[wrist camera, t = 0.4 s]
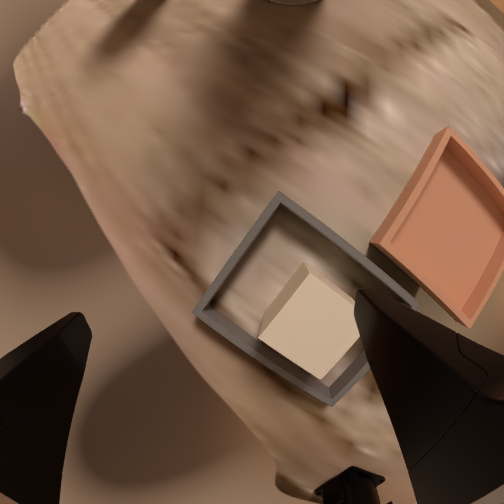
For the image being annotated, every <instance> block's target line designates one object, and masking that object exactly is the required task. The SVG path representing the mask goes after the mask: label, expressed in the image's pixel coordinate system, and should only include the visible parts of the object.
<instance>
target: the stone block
mask: <svg viewBox="0 0 504 504" xmlns="http://www.w3.org/2000/svg"><path fill="white" fill-rule="evenodd" d="M354 305H355V301H354V300H353V299H352V298H351V297H350V296H348V295H347V294H346V293H345V292H343V291H342V290H341V289H339V288H338V287H337V286H335V285H334V284H333V283H331V282H330V281H329V280H328V279H326V278H325V277H324V276H322V275H321V274H320V273H318V272H317V271H316V270H314V269H313V268H312V267H310V266H309V265H308V264H306V263H305V262H304V261H303V263H302V264H301V265H300V267H299V268H298V269H297V271H296V272H295V273H294V275H293V276H292V277H291V279H290V280H289V281H288V283H287V284H286V285H285V286H284V288H283V289H282V290H281V292H280V293H279V294H278V296H277V297H276V298H275V299H274V301H273V302H272V303H271V304H270V306H269V307H268V308H267V310H266V311H265V315H264V318H263V322H262V326H261V329H260V333H259V337H258V338H259V339H260V340H262V341H263V342H265V343H266V344H267V345H269V346H270V347H272V348H273V349H275V350H276V351H278V352H279V353H281V354H282V355H283V356H285V357H286V358H288V359H289V360H291V361H292V362H294V363H295V364H297V365H298V366H300V367H302V368H303V369H305V370H306V371H308V372H309V373H311V374H312V375H314V376H315V377H317V378H319V379H320V380H321V379H322V378H323V377H324V376H325V375H326V374H327V373H328V372H329V370H330V369H331V368H332V367H333V366H334V365H335V364H336V363H337V362H338V361H339V360H340V358H341V357H342V356H343V355H344V354H345V353H346V352H347V351H348V349H349V348H350V347H351V346H352V345H353V344H354V342H355V341H356V340H357V339H358V338H359V337H360V335H359V331H358V328H357V325H356V322H355V318H354Z"/></svg>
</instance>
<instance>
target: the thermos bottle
mask: <svg viewBox="0 0 504 504" xmlns="http://www.w3.org/2000/svg"><path fill="white" fill-rule="evenodd" d="M268 1H271V2H274V3H278V4H284V5H304V4H310V3H313V2H316V1H318V0H268Z"/></svg>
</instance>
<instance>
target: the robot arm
mask: <svg viewBox="0 0 504 504" xmlns="http://www.w3.org/2000/svg"><path fill="white" fill-rule="evenodd" d="M354 318H355V322H356V325H357V328H358V331H359V335H360V338H361V342H362V345H363V349H364V352H365V355H366V358H367V361H368V364H369V366H370V368H371V371H372V373H373V376H374V378H375V381H376V383H377V386H378V388H379V391H380V393H381V396H382V398H383V401H384V404H385V406H386V409H387V412H388V414H389V417H390V420H391V423H392V425H393V428H394V431H395V434H396V437H397V439H398V442H399V445H400V448H401V451H402V454H403V457H404V460H405V463H406V467H407V470H409V471H408V473H409V477H410V480H411V483H412V487H413V490H414V494H415V497H416V501H417V504H504V355H502V354H500V353H497V352H495V351H493V350H491V349H488V348H486V347H484V346H482V345H480V344H477V343H476V342H474V341H472V340H470V339H468V338H466V337H464V336H462V335H461V334H459V333H456V332H455V331H453V330H451V329H449V328H447V327H446V326H444V325H442V324H440V323H438V322H436V321H434V320H432V319H430V318H429V317H427V316H425V315H423V314H421V313H419V312H417V311H415V310H413V309H411V308H410V307H408V306H406V305H404V304H402V303H400V302H398V301H396V300H394V299H392V298H390V297H388V296H386V295H384V294H382V293H380V292H378V291H376V290H374V289H372V288H370V287H366V288H360V289H358V290H357V292H356V297H355V305H354ZM91 339H92V332H91V329H90V327H89V325H88V323H87V321H86V319H85V317H84V315H83V314H82V313H80V312H71V313H69V314H68V315H66V316H65V317H63V318H61V319H60V320H58V321H57V322H55V323H54V324H52V325H50V326H49V327H47V328H46V329H44V330H43V331H41V332H39V333H38V334H36V335H35V336H33V337H32V338H30V339H29V340H27V341H26V342H24V343H23V344H21V345H20V346H18V347H17V348H16V349H14V350H12V351H11V352H9V353H8V354H6V355H5V356H3V357H2V358H1V359H0V504H59V500H60V490H61V480H62V472H63V471H62V470H63V465H64V458H65V452H66V447H67V441H68V436H69V431H70V427H71V422H72V418H73V413H74V409H75V405H76V401H77V397H78V394H79V390H80V386H81V383H82V379H83V375H84V371H85V367H86V362H87V357H88V352H89V348H90V343H91ZM384 481H385V477H383V476H380V475H377V474H374V473H371V472H369V471H366V470H363V469H360V468H358V467H355V466H352V467H350V468H348V469H347V470H345V471H344V472H343V473H341V474H340V475H338V476H337V477H335V478H334V479H332V480H331V481H329V482H328V483H326V484H325V485H323V486H321V487H320V488H318V489H317V490H315V495H317V496H321V497H323V504H381V503H380V500H379V496H378V492H377V489H376V487H377V486H378V485H380V484H381V483H383V482H384ZM387 504H393V503H392V501H391V502H389V503H387Z"/></svg>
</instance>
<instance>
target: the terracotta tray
mask: <svg viewBox="0 0 504 504" xmlns="http://www.w3.org/2000/svg"><path fill="white" fill-rule="evenodd" d="M370 243H371V244H372V245H373V246H374V247H376V248H377V249H378V250H379V251H380V252H382V253H383V254H384V255H385V256H386V257H388V258H389V259H390V260H391V261H392V262H393V263H394V264H396V265H397V266H398V267H399V268H400V269H401V270H402V271H404V272H405V273H406V274H407V275H408V276H409V277H410V278H411V279H412V280H414V281H415V282H416V283H417V284H418V285H419V286H420V287H421V288H422V289H423V290H424V291H426V292H427V293H428V294H429V295H430V296H431V297H432V298H433V299H434V300H435V301H436V302H437V303H438V304H439V305H440V306H441V307H442V308H443V309H444V310H445V311H446V312H447V313H448V314H449V315H450V316H451V317H452V318H454V320H455V321H457V322H459V323H460V324H462V325H463V326H465V327H467V328H468V329H470V328H471V326H472V325H473V323H474V322H475V320H476V318H477V317H478V315H479V314H480V312H481V310H482V309H483V307H484V305H485V304H486V302H487V300H488V298H489V297H490V295H491V293H492V291H493V289H494V288H495V286H496V284H497V282H498V280H499V278H500V276H501V274H502V272H503V270H504V189H503V187H502V186H501V185H500V183H499V182H498V181H497V179H496V178H495V177H494V176H493V174H492V173H491V172H490V171H489V169H488V168H487V167H486V166H485V165H484V164H483V162H482V161H481V160H480V159H479V158H478V157H477V156H476V154H475V153H474V152H473V151H472V150H471V149H470V148H469V147H468V146H467V145H466V144H465V143H464V141H463V140H462V139H461V138H460V137H459V136H458V135H457V134H456V133H455V132H454V131H453V130H452V129H451V128H450V127H448V126H447V127H446V128H444V129H443V130H441V131H440V132H438V133H437V134H435V136H434V138H433V140H432V141H431V143H430V145H429V147H428V149H427V151H426V152H425V154H424V156H423V158H422V160H421V161H420V163H419V165H418V167H417V168H416V170H415V172H414V173H413V175H412V177H411V178H410V180H409V182H408V183H407V185H406V187H405V188H404V190H403V192H402V193H401V195H400V197H399V198H398V200H397V201H396V203H395V205H394V206H393V208H392V209H391V211H390V212H389V214H388V215H387V217H386V218H385V220H384V221H383V223H382V224H381V226H380V227H379V229H378V230H377V232H376V233H375V235H374V236H373V238H372V239H371V241H370Z"/></svg>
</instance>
